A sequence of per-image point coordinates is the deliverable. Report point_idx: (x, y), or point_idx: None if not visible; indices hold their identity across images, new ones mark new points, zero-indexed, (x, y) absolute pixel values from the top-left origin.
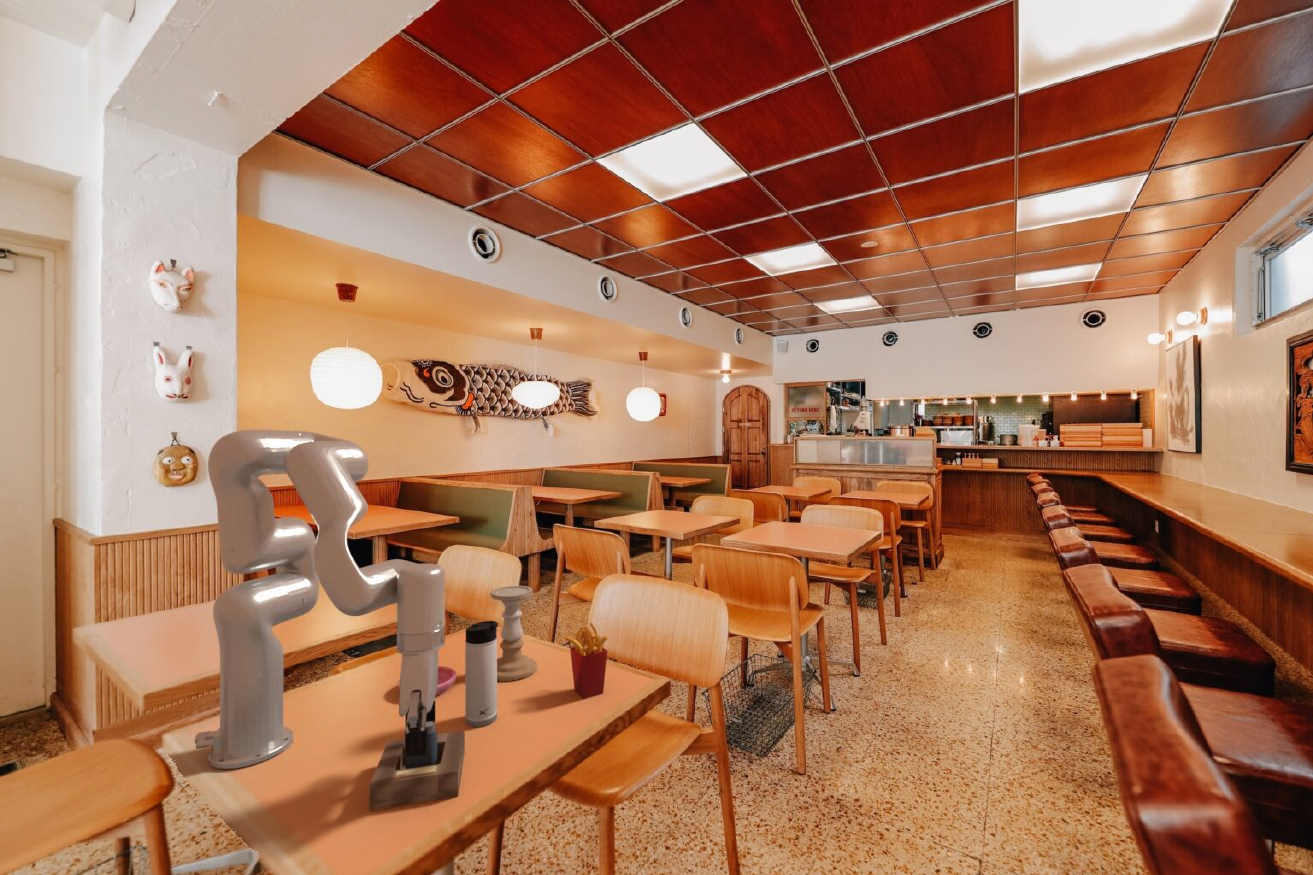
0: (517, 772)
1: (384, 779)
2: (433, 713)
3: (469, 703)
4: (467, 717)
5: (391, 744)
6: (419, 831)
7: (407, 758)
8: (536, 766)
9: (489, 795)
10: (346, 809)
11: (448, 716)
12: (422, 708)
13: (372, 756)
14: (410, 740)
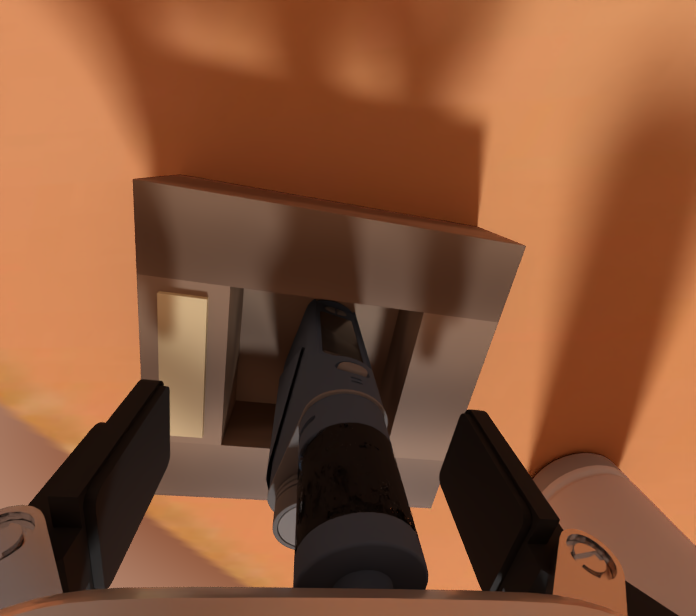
0: (242, 548)
1: (166, 246)
2: (459, 525)
3: (606, 529)
4: (580, 474)
5: (480, 263)
6: (22, 335)
7: (307, 335)
8: (252, 580)
9: None
10: (219, 80)
11: (660, 407)
12: (495, 518)
13: (566, 165)
14: (51, 480)
